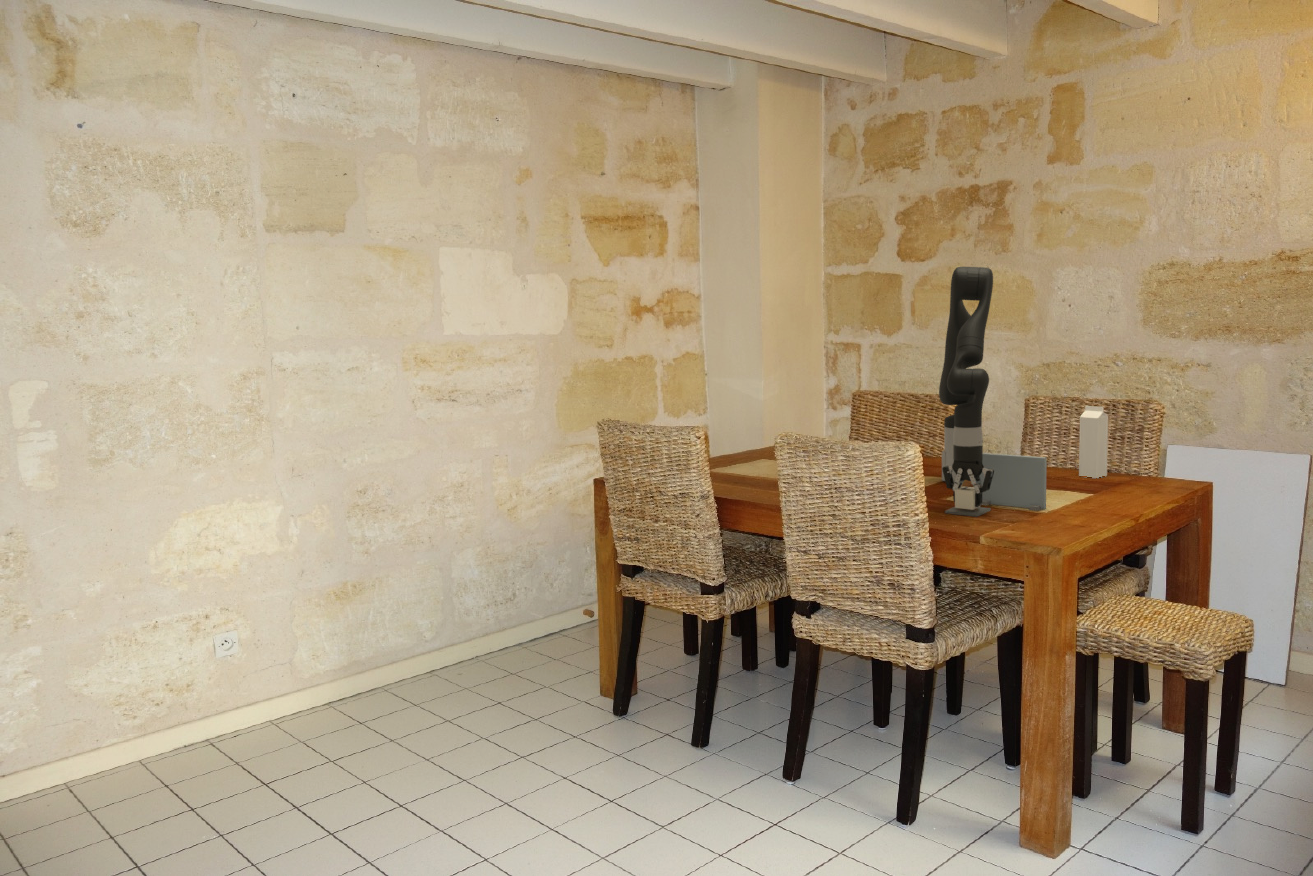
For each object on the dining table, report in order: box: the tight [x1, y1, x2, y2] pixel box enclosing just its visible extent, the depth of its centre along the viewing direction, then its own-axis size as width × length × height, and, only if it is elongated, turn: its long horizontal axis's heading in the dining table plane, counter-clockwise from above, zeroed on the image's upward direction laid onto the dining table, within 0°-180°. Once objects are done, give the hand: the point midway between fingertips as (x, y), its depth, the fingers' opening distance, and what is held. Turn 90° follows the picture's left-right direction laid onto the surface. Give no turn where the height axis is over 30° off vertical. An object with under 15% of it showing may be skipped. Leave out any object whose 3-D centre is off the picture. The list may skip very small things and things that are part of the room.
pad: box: [944, 506, 992, 518], centre depth 268 cm, size 9×9×1 cm
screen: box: [980, 452, 1048, 512], centre depth 272 cm, size 18×6×14 cm, turn 49°
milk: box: [1078, 405, 1109, 479], centre depth 308 cm, size 6×6×22 cm
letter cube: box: [954, 487, 981, 510], centre depth 268 cm, size 5×5×5 cm
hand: (967, 505), depth 268 cm, fingers closed on letter cube, 4 cm apart
